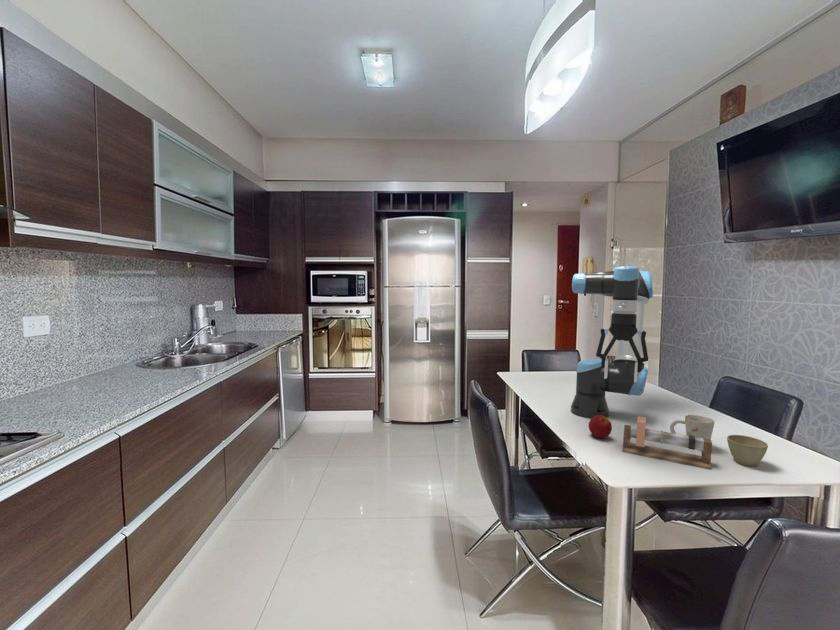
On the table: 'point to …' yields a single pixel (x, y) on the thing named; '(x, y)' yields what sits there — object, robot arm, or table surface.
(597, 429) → the apple
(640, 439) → the salmon pink flat block
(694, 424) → the mug
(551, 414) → the table surface
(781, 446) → the table surface
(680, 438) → the pipe stand
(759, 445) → the beige bowl
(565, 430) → the table surface
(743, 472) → the table surface
